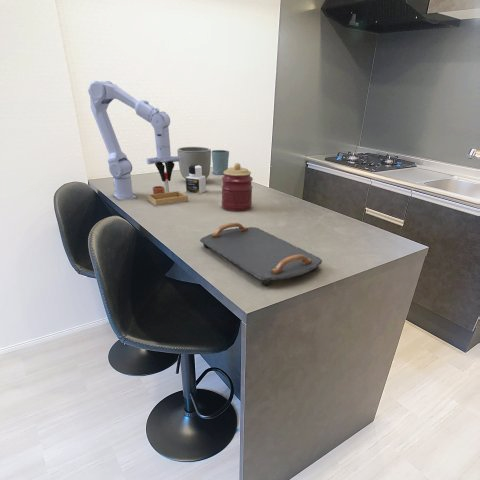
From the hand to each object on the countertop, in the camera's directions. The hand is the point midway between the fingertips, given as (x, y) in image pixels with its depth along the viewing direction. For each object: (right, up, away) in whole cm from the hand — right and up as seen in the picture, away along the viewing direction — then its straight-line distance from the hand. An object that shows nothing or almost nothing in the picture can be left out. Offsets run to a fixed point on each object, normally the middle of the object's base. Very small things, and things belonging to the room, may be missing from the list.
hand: (166, 180), depth 152 cm
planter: (+8, +14, +37) cm, 40 cm away
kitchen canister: (+31, -12, 0) cm, 33 cm away
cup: (-5, -3, +11) cm, 12 cm away
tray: (0, -7, +5) cm, 9 cm away
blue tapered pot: (+20, +27, +57) cm, 66 cm away
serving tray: (+37, -41, -44) cm, 71 cm away
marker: (0, -4, +3) cm, 5 cm away
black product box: (+11, +2, +20) cm, 22 cm away
